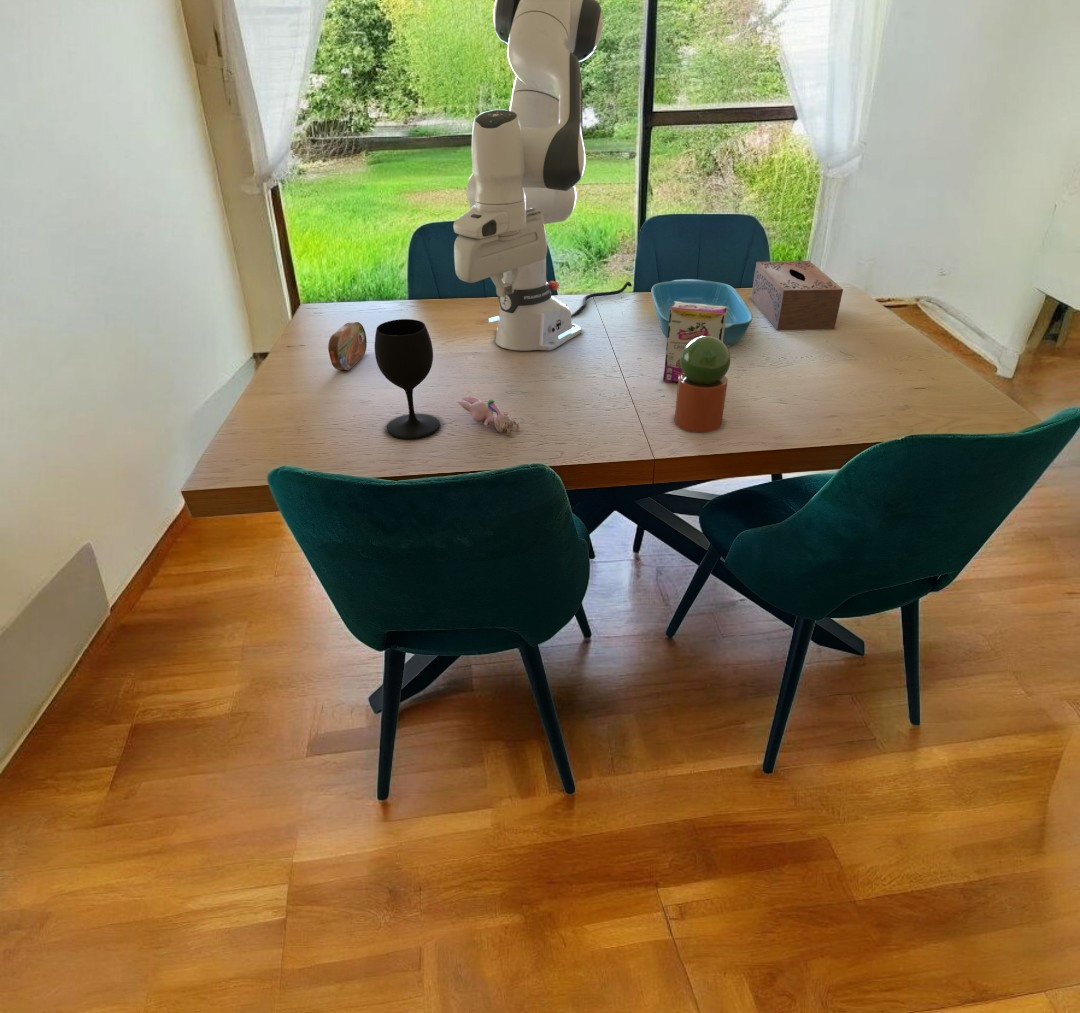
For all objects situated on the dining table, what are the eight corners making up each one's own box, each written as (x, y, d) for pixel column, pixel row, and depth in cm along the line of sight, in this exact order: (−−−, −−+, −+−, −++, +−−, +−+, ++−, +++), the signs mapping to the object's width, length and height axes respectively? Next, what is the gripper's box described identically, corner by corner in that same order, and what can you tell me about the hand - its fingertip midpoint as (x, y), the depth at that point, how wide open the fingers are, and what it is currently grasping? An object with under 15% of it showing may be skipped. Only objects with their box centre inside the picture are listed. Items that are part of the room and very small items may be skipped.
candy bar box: (662, 382, 155) (668, 307, 146) (666, 373, 159) (673, 300, 150) (715, 389, 152) (725, 312, 143) (718, 379, 156) (728, 305, 147)
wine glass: (388, 416, 143) (374, 318, 132) (441, 413, 144) (431, 316, 133) (384, 441, 135) (368, 338, 124) (439, 438, 135) (429, 336, 124)
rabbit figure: (524, 434, 139) (469, 401, 146) (527, 407, 135) (471, 375, 142) (501, 446, 135) (447, 412, 142) (504, 419, 131) (447, 385, 138)
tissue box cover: (751, 298, 202) (756, 261, 196) (802, 297, 202) (809, 260, 196) (777, 330, 180) (783, 290, 175) (834, 329, 180) (843, 289, 175)
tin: (343, 376, 160) (336, 339, 156) (330, 375, 161) (323, 339, 156) (369, 351, 173) (364, 317, 168) (357, 350, 173) (351, 316, 169)
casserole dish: (758, 354, 167) (762, 324, 163) (661, 355, 168) (664, 325, 164) (726, 304, 198) (729, 277, 194) (644, 305, 198) (646, 278, 195)
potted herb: (691, 407, 145) (700, 325, 135) (730, 421, 139) (743, 336, 130) (665, 422, 139) (672, 338, 130) (704, 437, 134) (715, 350, 125)
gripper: (529, 203, 134) (532, 277, 142) (445, 225, 122) (453, 304, 130) (554, 208, 130) (555, 284, 138) (470, 231, 119) (476, 312, 126)
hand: (505, 294), depth 134 cm, fingers closed
